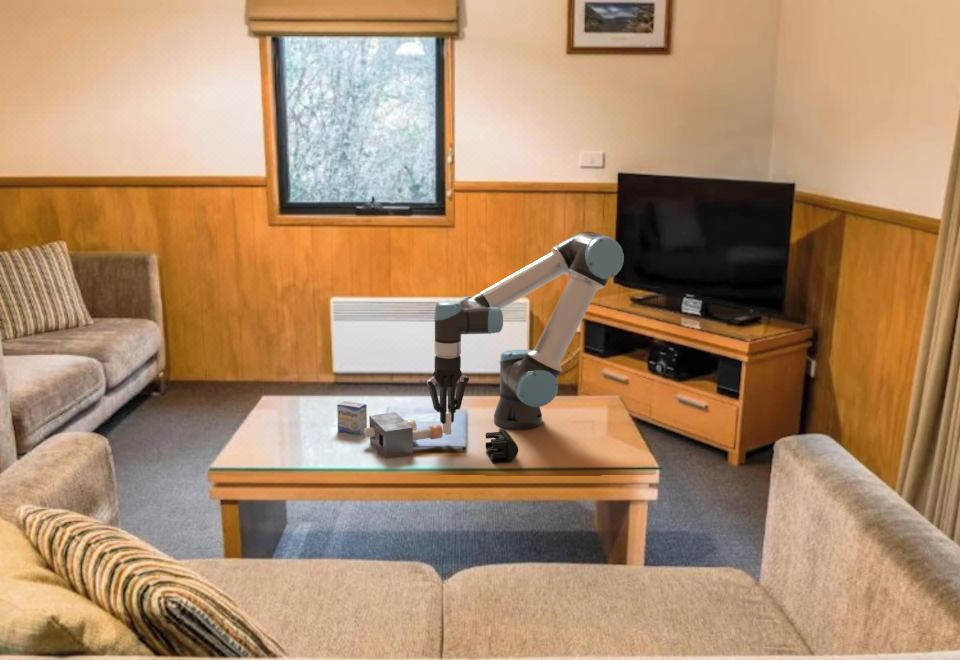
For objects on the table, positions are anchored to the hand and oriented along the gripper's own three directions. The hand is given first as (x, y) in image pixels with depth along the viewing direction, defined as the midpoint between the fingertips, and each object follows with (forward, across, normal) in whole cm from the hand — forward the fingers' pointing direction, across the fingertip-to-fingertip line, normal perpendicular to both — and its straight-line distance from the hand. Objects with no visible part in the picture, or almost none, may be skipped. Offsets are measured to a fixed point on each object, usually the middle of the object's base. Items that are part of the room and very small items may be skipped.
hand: (446, 433), depth 250 cm
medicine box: (+4, +22, -21) cm, 31 cm away
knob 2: (+1, +10, 0) cm, 10 cm away
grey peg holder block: (+3, +16, -3) cm, 17 cm away
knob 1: (+1, +15, -7) cm, 17 cm away
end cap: (+3, -10, +16) cm, 19 cm away
